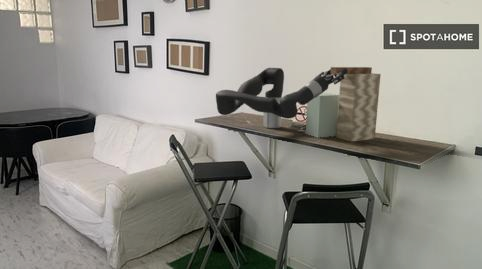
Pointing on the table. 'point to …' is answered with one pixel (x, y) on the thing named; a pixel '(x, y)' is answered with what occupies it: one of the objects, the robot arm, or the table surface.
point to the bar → (352, 70)
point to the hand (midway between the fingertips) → (340, 69)
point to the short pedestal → (322, 115)
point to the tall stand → (358, 106)
